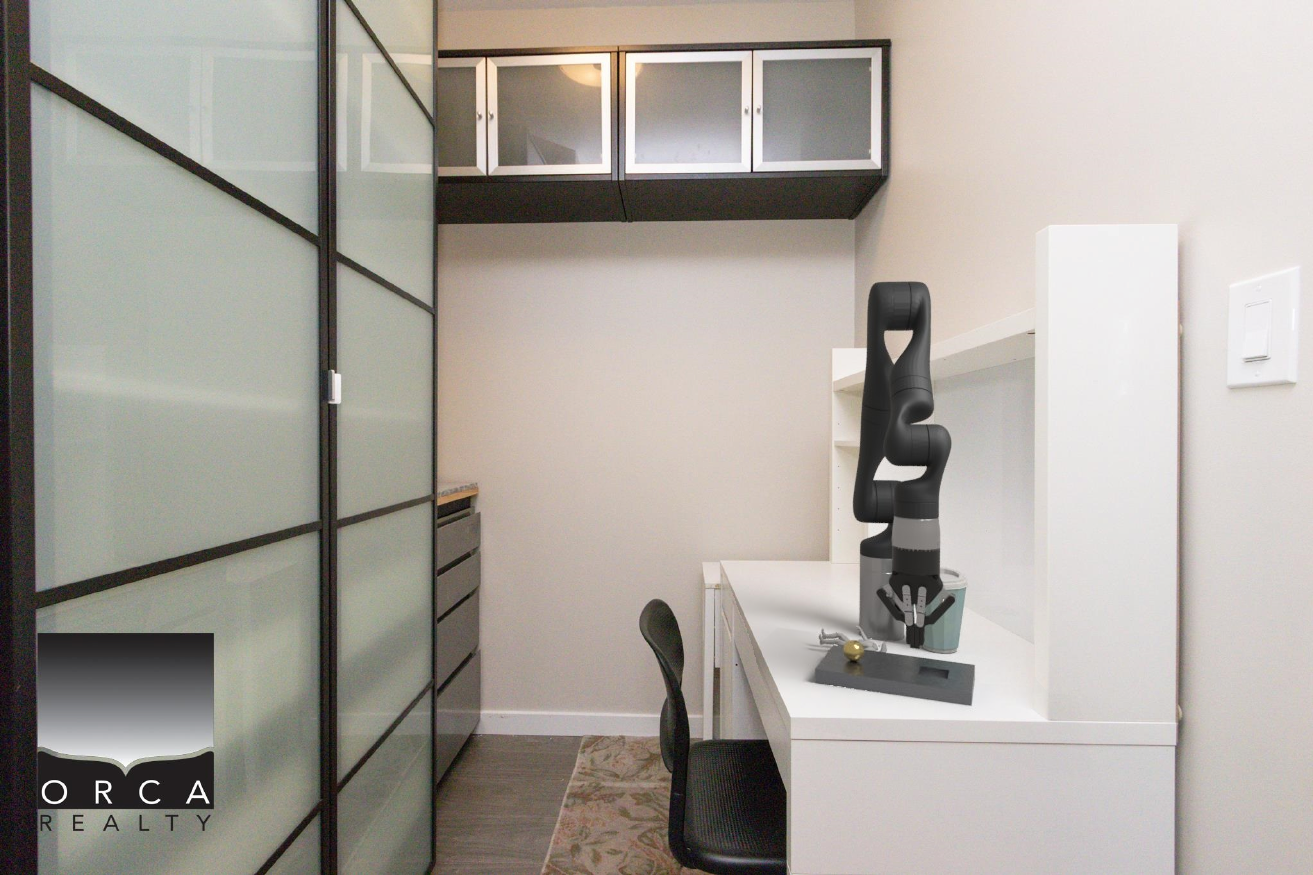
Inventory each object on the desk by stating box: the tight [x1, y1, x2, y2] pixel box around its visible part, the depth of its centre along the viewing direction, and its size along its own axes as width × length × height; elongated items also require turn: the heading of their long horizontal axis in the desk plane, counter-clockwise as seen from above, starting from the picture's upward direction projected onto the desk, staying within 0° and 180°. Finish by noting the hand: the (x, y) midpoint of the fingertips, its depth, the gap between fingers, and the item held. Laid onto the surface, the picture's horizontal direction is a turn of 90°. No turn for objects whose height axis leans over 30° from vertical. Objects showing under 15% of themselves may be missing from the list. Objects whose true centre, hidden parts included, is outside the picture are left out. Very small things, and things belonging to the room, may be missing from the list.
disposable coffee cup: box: [914, 566, 969, 654], centre depth 137 cm, size 11×11×15 cm
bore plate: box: [814, 644, 976, 707], centre depth 119 cm, size 14×24×2 cm, turn 64°
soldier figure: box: [818, 624, 888, 653], centre depth 135 cm, size 8×5×12 cm
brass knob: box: [843, 639, 864, 661], centre depth 122 cm, size 4×4×4 cm
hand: (915, 647), depth 118 cm, fingers closed
